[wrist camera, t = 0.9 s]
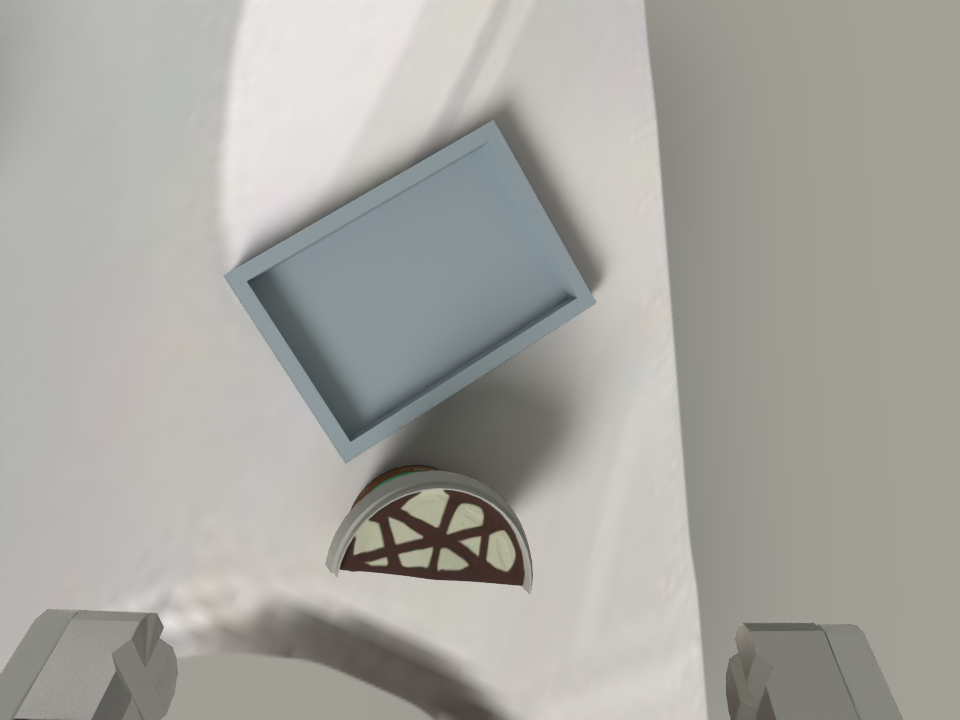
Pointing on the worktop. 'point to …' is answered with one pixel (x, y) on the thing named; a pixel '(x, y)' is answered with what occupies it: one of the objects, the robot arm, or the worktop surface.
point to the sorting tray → (412, 290)
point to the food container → (432, 530)
